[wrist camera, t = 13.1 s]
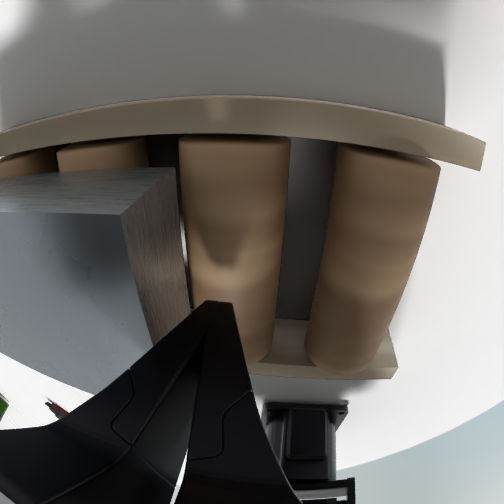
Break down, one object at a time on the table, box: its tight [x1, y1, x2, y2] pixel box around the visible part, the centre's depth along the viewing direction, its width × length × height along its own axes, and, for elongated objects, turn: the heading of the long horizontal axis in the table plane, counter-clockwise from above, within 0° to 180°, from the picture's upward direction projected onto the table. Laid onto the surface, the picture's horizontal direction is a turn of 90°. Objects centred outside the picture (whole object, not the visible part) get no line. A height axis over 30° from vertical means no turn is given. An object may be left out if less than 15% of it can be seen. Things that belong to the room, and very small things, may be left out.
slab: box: [0, 167, 191, 395], centre depth 9 cm, size 8×12×3 cm, turn 89°
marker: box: [45, 402, 68, 419], centre depth 33 cm, size 15×2×2 cm, turn 39°
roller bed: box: [0, 95, 486, 380], centre depth 11 cm, size 12×21×4 cm, turn 89°
